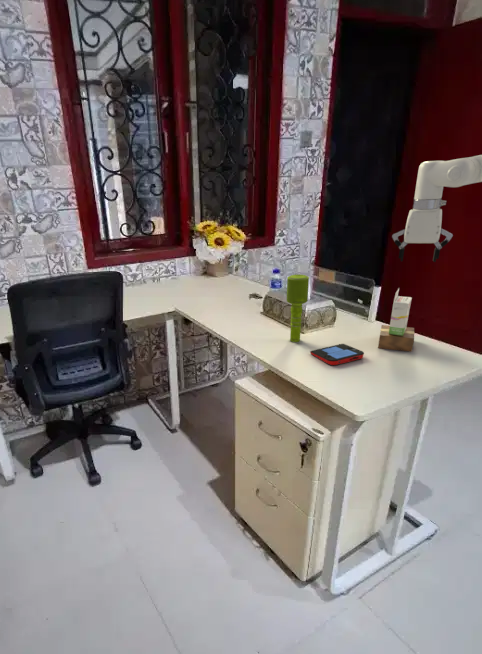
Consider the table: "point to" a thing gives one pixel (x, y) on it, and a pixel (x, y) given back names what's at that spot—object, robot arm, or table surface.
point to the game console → (338, 354)
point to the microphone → (296, 302)
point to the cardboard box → (396, 339)
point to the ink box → (399, 314)
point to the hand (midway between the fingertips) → (417, 260)
